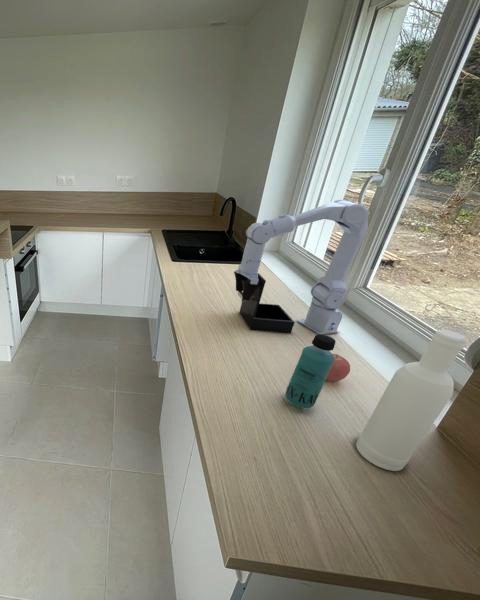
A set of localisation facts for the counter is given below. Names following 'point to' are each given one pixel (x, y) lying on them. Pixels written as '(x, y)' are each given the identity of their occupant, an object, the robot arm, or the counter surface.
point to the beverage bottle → (311, 372)
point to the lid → (254, 297)
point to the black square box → (268, 319)
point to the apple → (338, 369)
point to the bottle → (411, 404)
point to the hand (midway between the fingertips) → (242, 295)
